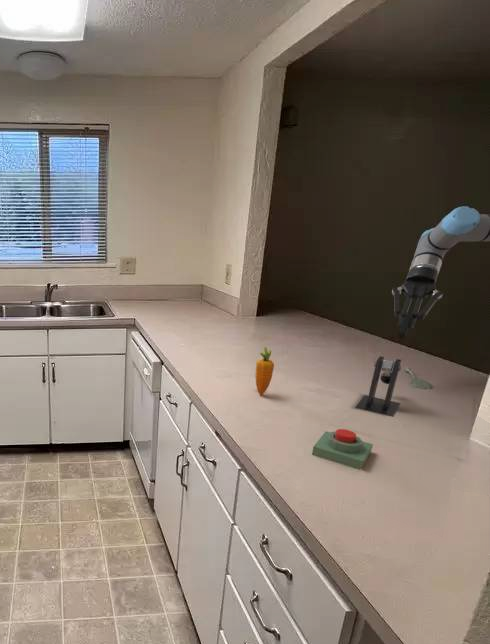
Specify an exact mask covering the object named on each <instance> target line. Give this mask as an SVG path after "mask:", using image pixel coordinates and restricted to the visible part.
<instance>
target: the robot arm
mask: <svg viewBox="0 0 490 644" xmlns="http://www.w3.org/2000/svg"><path fill="white" fill-rule="evenodd" d="M461 242H465V243H466V242H490V214H487V213H485V214H484V213H482V214H481V213H480V212H479V211H478V210H477V209H475V208H472V207H470V206H459V207H456V208H454V209H453V210H451V211H450V213H448V214H447V215H445V216H444V217H443V218H442V220H441V221H440V222H439V223H438V224H437V225H436V226H435V227H432V228H430V229H427V230H425V231H423V233H422V234H421V236H420V238H419V240H418V242H417V246H416V249H415V252H414V255H413V259H412V260H411V263H410V266H409V269H408V272H407V275H406V278H405V281H404V283H402V284H401V286H398V287H397V286H393V287H392V288H391V295H392V297H393V315H394V317H395V318H399V319H398V322H397V327H398V328H400V330H399V334H398V339H402V340H405V339H406V336H407V333H408V330H413V328H414V326H415V323H416V321H417V320H419V321H423V320H424V319H425V318H426V317H427V315H428V314H429V312H430V310H431V309H432V308H433V307H434V305H435V304H436V302H438V301H440V300H441V299H442V298H443V294H444V291H443V290H437V289H436V282H437V279H438V276H439V273H440V270H441V267H442V264H443V261H444V258H445V255H446V253H447V252H449V250H451V249H452V248H453V247H454V246H455V245H457V244H458V243H461ZM402 293H403V294H404V296H405V297H406V299H405V302H404V304H403V306H402V310H401V309H400V307H401V306H400V305H401V303H400V302H401V301H400V300H401V299H400V295H401V294H402ZM429 296H431V297H430V299H428V301H427V303H426V304H425V305H424V307H423V308H422V310H420V308H421V305H422V302H423V300H424V299H426V298H427V297H429ZM413 300H415V304H414V307H413V310H412V313H411V315H408V312H409V309H410V306H411V304H412V301H413ZM419 311H420V313H419Z"/></svg>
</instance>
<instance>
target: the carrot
mask: <svg viewBox="0 0 490 644" xmlns="http://www.w3.org/2000/svg"><path fill="white" fill-rule="evenodd" d="M263 351H264V352H262V351H260V352H259V353H258V354H259V355H261V357H262V358H261V359H258V360H257V361H256V364H255V386H256V391H257V393H258V394H259V396H262V395H264V394H265V392H267V389H268V388H269V386H270V384H271V381H272V378H273V373H274V369H275V367H274V366H275V362H273V360H271V359H270V357H271V354H272V350H271V349H269V350H268V348H267V346H265V347H263Z"/></svg>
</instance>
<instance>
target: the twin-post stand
mask: <svg viewBox="0 0 490 644" xmlns="http://www.w3.org/2000/svg"><path fill="white" fill-rule="evenodd" d="M384 358H385V357H384V356H381V355H380V356H378V358H377V359H376V361H374V365H373V366H374V371H373V375H372V379H371V382H370V383H371V384H370V387H369V391H368V395H365V394H363V396H362V398H361V399H360V400H359V402H358V403H357V404H356V406H355V407H354V408H355V409H357V410H362V411H367V412H370V413H375V414H379V415H382V416H383V415H384V416H387V417H393V418H394V416H395V414H396V413H397V411H398V409H399V407H400V405H401V402H399V401H395V400H392V398H393V394H394V390H395V387H396V382H397V379H398V374H399V372H400V371H401V369H402V365H401V363H402V359H399V358H396V360H395V361H394V365H393V368H392V371H391V372H392V374H391V378H390V382H389V384H388V387H387V389H386V390H387V391H386V395H385V399H384V398H379V397H375V396H376V392H377V388H378V383H379V380H380V377H381V372H382V364H383V361H384V360H385V359H384Z"/></svg>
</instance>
